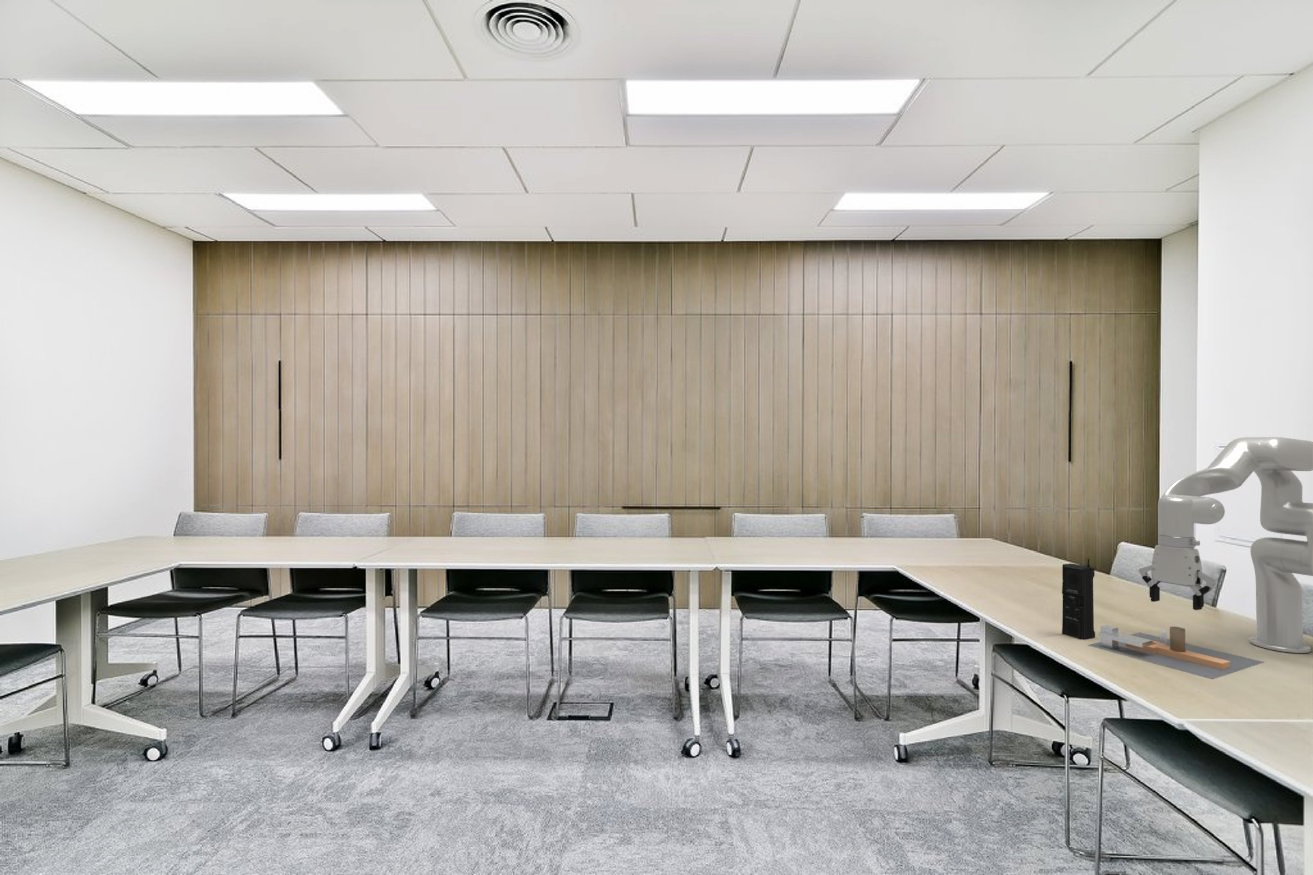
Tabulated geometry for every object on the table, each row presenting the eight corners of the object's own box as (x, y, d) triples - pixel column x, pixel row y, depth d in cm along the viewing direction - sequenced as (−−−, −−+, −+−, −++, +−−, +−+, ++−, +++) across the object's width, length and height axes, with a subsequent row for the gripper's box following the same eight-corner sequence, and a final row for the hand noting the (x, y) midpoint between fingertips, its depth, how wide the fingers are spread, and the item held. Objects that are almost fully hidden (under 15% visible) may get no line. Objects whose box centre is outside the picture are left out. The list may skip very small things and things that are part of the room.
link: (1125, 646, 177) (1125, 619, 177) (1139, 642, 180) (1138, 616, 180) (1219, 670, 157) (1219, 640, 157) (1233, 666, 160) (1232, 637, 161)
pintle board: (1139, 637, 190) (1139, 620, 190) (1264, 667, 164) (1264, 648, 164) (1087, 650, 178) (1087, 632, 178) (1212, 685, 152) (1212, 664, 152)
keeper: (1109, 648, 179) (1108, 624, 179) (1152, 660, 169) (1152, 634, 169) (1098, 651, 177) (1098, 626, 177) (1142, 663, 167) (1142, 637, 167)
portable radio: (1057, 637, 190) (1056, 556, 190) (1070, 635, 192) (1069, 554, 192) (1082, 645, 183) (1081, 560, 183) (1096, 642, 185) (1095, 559, 185)
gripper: (1222, 546, 163) (1222, 611, 162) (1146, 537, 178) (1147, 596, 178) (1207, 547, 159) (1208, 614, 159) (1132, 538, 175) (1132, 599, 175)
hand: (1175, 605), depth 168 cm, fingers open, 9 cm apart
